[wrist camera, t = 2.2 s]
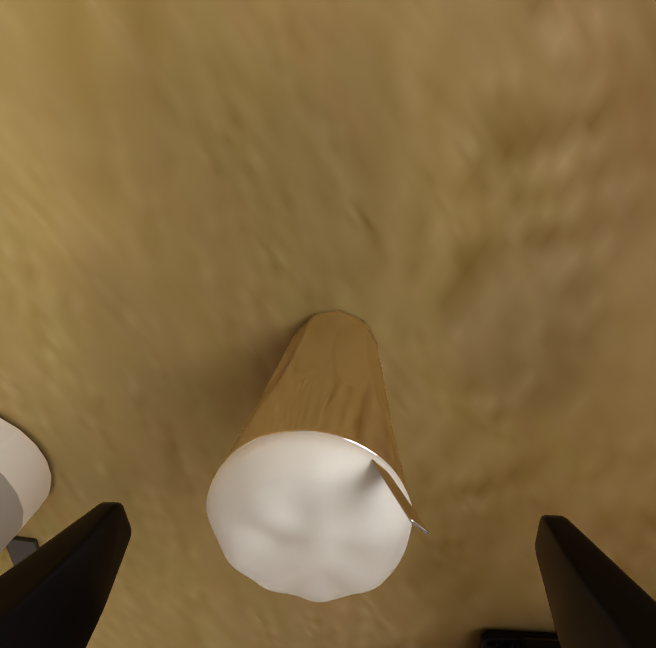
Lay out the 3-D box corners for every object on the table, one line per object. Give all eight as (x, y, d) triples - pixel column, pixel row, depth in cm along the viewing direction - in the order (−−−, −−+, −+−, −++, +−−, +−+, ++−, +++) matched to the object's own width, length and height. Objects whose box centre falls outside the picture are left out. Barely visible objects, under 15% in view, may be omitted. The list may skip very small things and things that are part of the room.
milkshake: (434, 333, 16) (516, 599, 7) (338, 413, 18) (307, 702, 9) (346, 253, 15) (311, 443, 6) (255, 347, 17) (127, 597, 8)
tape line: (90, 691, 30) (88, 695, 30) (66, 687, 31) (64, 691, 30) (36, 539, 24) (33, 542, 23) (5, 535, 24) (2, 538, 24)
